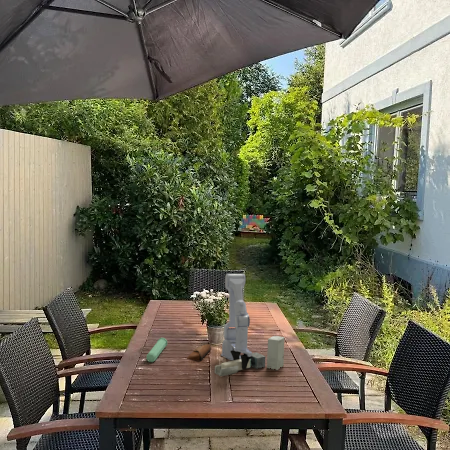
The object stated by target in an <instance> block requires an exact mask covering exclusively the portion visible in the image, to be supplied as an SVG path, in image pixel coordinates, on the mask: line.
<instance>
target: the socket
mask: <svg viewBox="0 0 450 450" xmlns="http://www.w3.org/2000/svg"><path fill="white" fill-rule="evenodd" d="M250 359H251V366H252V367H251V368H254V369H256V370H258V368H259V369H262V367H263V368H266V355H263V354H262V353H258V352H252V356H251V358H250Z"/></svg>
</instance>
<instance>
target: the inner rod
mask: <svg viewBox="0 0 450 450" xmlns="http://www.w3.org/2000/svg"><path fill="white" fill-rule="evenodd" d="M220 365H221V369H222V368H227V367H231V366H235V365H238V371H241V370H243V369H242V361H241V358H240V359H239V360H229V361H225V362H221V364H220ZM249 368H252V367H251V359H250V360H249V362H248V364H247V368H246V369H249Z"/></svg>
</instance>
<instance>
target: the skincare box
mask: <svg viewBox="0 0 450 450" xmlns="http://www.w3.org/2000/svg"><path fill="white" fill-rule="evenodd" d="M266 355H267V356H266V357H267V358H266V368H267V369H270V368H271V369H270V370H274V369H276V370H275V371H278V370H279V369H280V367H281V368H282V367H283V366H284V362H285V361H284V358H285V337H284V336H278V335H273V336H271V337H269V338H268V339H267V354H266Z"/></svg>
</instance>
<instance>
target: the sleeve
mask: <svg viewBox="0 0 450 450" xmlns="http://www.w3.org/2000/svg"><path fill="white" fill-rule="evenodd" d="M237 373H239V370H238V365H235V366H231V367H227V368H222V369H221V364H218V365H214V374H216V375H218V376H219V377H221V376H222V377H224V376H230V375H233V374H237Z"/></svg>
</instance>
